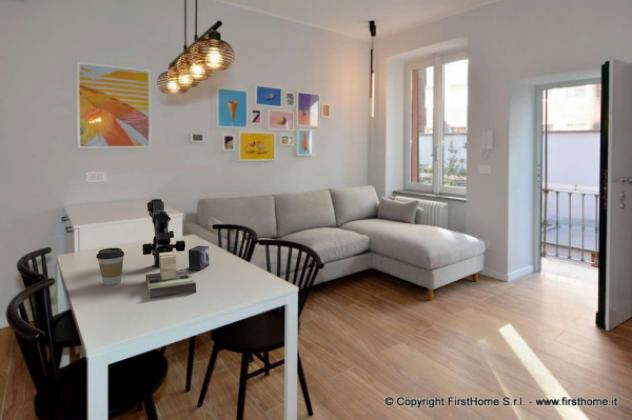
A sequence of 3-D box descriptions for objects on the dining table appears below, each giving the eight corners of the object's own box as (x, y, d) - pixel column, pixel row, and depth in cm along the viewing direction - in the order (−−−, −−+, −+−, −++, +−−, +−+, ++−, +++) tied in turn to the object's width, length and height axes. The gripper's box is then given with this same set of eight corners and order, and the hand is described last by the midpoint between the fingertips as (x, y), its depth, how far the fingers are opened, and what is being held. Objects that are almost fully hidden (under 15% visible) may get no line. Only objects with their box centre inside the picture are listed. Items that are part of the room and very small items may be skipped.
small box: (200, 271, 199) (199, 250, 198) (188, 270, 200) (187, 249, 199) (210, 265, 209) (209, 245, 208) (198, 264, 211) (197, 245, 209)
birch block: (160, 274, 184) (158, 253, 182) (173, 272, 186) (172, 251, 185) (162, 280, 176) (160, 257, 174) (176, 278, 178) (175, 256, 177)
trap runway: (145, 281, 184) (145, 272, 183) (186, 275, 191) (186, 267, 191) (150, 298, 161) (149, 289, 161) (196, 292, 169) (195, 282, 169)
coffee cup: (132, 280, 185) (130, 248, 183) (112, 288, 174) (109, 254, 172) (112, 277, 188) (110, 246, 186) (92, 285, 178) (89, 252, 176)
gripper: (141, 226, 184) (144, 255, 175) (183, 223, 192) (188, 251, 184) (141, 240, 192) (144, 268, 183) (182, 236, 200) (186, 263, 192)
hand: (166, 262), depth 185 cm, fingers closed
